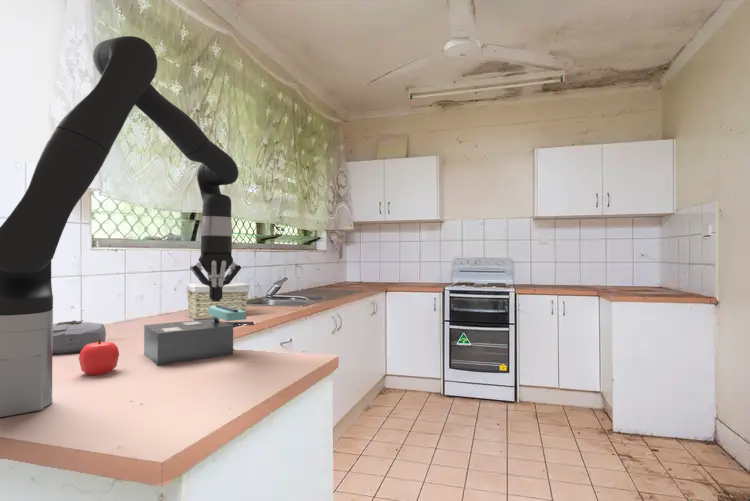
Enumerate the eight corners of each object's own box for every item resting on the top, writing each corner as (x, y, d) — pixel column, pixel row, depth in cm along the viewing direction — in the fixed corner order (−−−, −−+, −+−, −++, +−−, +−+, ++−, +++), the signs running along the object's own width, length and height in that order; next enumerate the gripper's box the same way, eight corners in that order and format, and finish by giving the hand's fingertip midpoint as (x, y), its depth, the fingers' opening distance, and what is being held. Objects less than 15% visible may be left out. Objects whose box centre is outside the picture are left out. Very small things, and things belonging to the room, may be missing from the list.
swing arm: (205, 313, 125) (205, 304, 125) (222, 311, 128) (222, 303, 128) (227, 321, 111) (227, 311, 111) (246, 319, 114) (246, 309, 114)
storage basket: (239, 312, 204) (239, 281, 204) (250, 316, 190) (250, 283, 190) (185, 316, 190) (185, 283, 190) (192, 321, 177) (192, 285, 177)
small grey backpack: (107, 342, 136) (27, 348, 126) (107, 315, 136) (27, 320, 126) (103, 351, 123) (13, 360, 113) (103, 322, 123) (14, 328, 113)
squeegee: (202, 333, 154) (202, 325, 154) (216, 325, 169) (216, 318, 169) (243, 333, 155) (243, 325, 155) (253, 326, 170) (253, 318, 170)
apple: (100, 378, 96) (100, 342, 96) (69, 376, 97) (70, 341, 98) (127, 369, 104) (127, 336, 104) (98, 367, 105) (98, 334, 105)
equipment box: (233, 354, 119) (233, 317, 119) (157, 365, 107) (157, 324, 107) (213, 345, 131) (213, 311, 131) (144, 354, 119) (144, 316, 119)
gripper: (236, 236, 119) (235, 298, 119) (185, 234, 111) (184, 301, 111) (246, 235, 113) (245, 301, 113) (194, 233, 105) (193, 304, 105)
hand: (215, 301), depth 112 cm, fingers closed
